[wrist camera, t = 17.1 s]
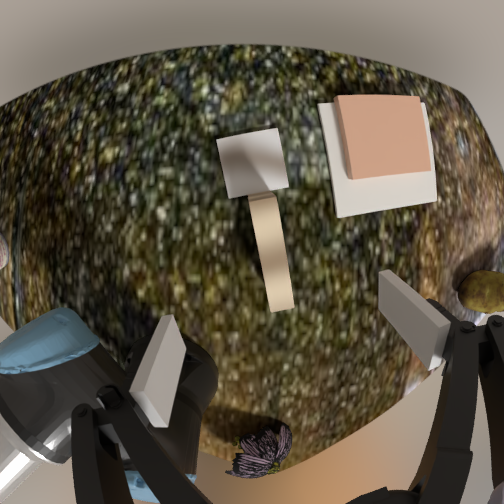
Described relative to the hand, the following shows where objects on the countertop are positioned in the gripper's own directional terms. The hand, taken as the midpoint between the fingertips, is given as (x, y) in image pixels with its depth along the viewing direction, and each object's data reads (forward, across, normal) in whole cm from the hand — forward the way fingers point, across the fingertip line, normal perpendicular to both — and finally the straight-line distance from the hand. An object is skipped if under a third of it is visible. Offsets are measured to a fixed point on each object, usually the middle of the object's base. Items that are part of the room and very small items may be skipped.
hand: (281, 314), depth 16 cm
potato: (+18, -38, +16) cm, 45 cm away
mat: (+17, -18, -8) cm, 26 cm away
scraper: (+18, -1, -3) cm, 18 cm away
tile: (+16, -18, -5) cm, 24 cm away
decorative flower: (+18, +8, +41) cm, 45 cm away
